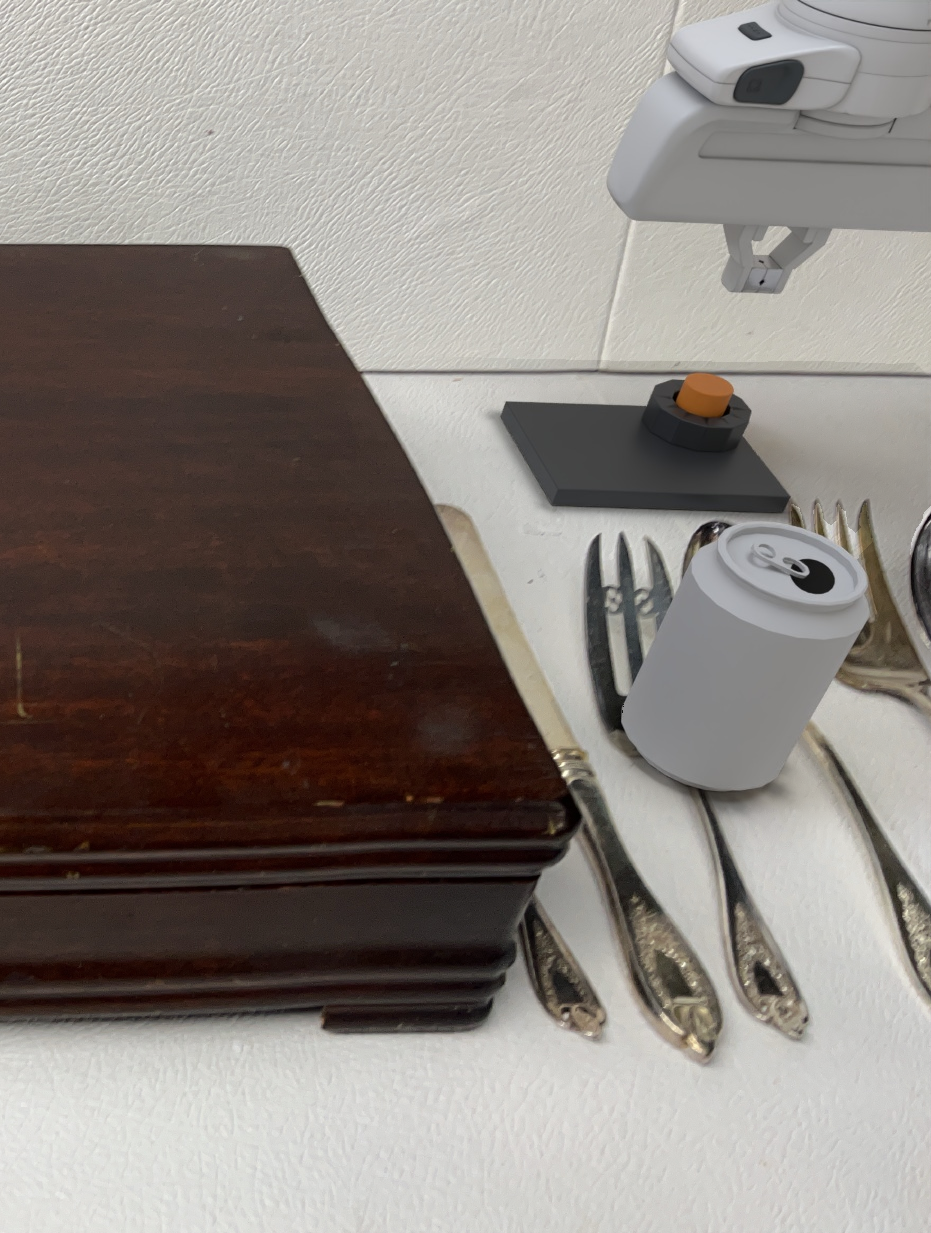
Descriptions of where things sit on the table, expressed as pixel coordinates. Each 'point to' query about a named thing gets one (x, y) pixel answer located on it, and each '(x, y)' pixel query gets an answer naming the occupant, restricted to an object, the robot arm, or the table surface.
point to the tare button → (705, 395)
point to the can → (745, 655)
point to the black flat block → (644, 455)
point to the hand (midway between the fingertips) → (749, 289)
